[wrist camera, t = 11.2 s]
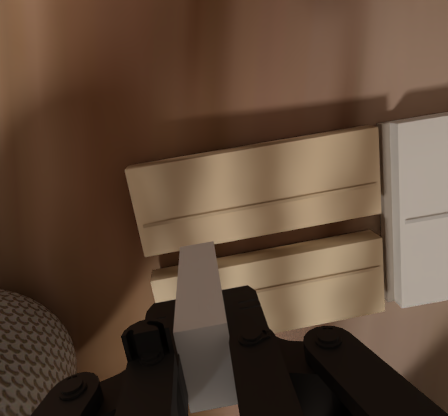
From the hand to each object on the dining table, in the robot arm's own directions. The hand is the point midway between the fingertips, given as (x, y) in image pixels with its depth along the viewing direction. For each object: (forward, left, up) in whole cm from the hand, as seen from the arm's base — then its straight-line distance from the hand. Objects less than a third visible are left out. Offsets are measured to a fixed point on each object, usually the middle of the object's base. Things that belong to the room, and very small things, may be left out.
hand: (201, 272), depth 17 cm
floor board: (+20, -4, -13) cm, 24 cm away
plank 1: (+4, 0, -13) cm, 13 cm away
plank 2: (+4, -8, -13) cm, 16 cm away
